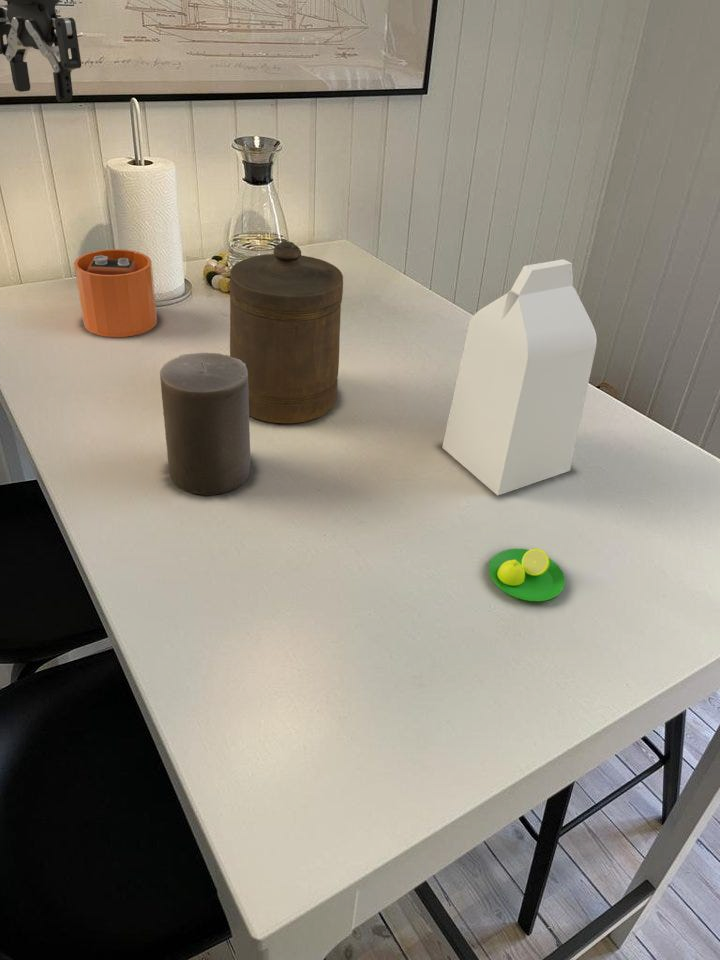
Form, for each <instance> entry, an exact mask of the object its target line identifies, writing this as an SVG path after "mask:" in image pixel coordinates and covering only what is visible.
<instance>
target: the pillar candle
mask: <svg viewBox="0 0 720 960" xmlns="http://www.w3.org/2000/svg"><path fill="white" fill-rule="evenodd" d="M159 379H160V388H161V389H160V390H161V400H162V401H161V402H162V409H163V413H162V414H163V421H164V422H163V423H164V432H165V443H166V444H165V445H166V454H167V455H166V457H167V465H168V473H169V477H170V479H171V481H172V483H173V484H174V485H175V486H176V487H177V488H178V489H180V490H182V491H185V492H187V493H191V494H196V495H200V496H216V495H220V494H226V493H228V492H231V491H233V490H236V489H237V488H240V487H241V486H242V485H244V484H245V483H246V482H247V481H248V479H249V477H250V475H251V468H252V467H251V443H250V442H251V436H250V416H249V394H248V370H247V368H246V364H245V363H243V362H242V361H241V360H239V359H236V358H233V357H230V355H228V354H222V353H216V352H195V353H183V354H181V355H178V357H175V358H172V359H170V360H169V361H167V362H166V363H164V365H163V366H162V367H161V369H160V370H159Z"/></svg>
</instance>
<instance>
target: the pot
mask: <svg viewBox="0 0 720 960" xmlns="http://www.w3.org/2000/svg"><path fill="white" fill-rule="evenodd" d="M101 255H103V256H106V257H108V259H113V260H118V259H120V258H127V259H128V260H133V261H136V263H137V271H136V272H132V273H127V274H119V275H100V274H94V273H90V272H88V270H87V269H88V267H89V266H90V264H91V262H92V261H93V260H94V257H95V256H101ZM73 267H74V273H75V279H76V285H77V291H78V297H79V304H80V310H81V311H80V312H81V316H82V322H83V326H84V328H85V329H86V330H87V331H88V332H89V333H91V334H94V335H98V336H101V337H106V338H127V337H134V336H139V335H141V334H145V333H146V332H149V331H151V330H153V328H155V326H156V325H157V323H158V313H157V302H156V293H155V283H154V271H153V262H152V260H151V258H150V256H148V255H147V254H144V253H143V252H140V251H136V250H132V249H131V250H130V249H119V248H111V249H100V250H95V251H94V250H93V251H90V252H86V253H84V254H82V255H80V256H79V257H77V258H76V259H75V260H74V262H73Z"/></svg>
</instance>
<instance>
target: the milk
mask: <svg viewBox="0 0 720 960" xmlns="http://www.w3.org/2000/svg"><path fill="white" fill-rule="evenodd" d="M573 285H574V277H573V263H572V262H570V261H569V260H566V259H565V258H563V259H557V260H551V261H544V262H539V263H533V264H527V265H523V267H522V269H521V271H520V273H519V274H518V276H517V277H516V279H515V282H514V284H513V285H512V287H511V289H510V290H509V291H508V292H506V293H505V294H503V295H502V296H500V297H497V299H495V300H493V301H492V302H491V303H489V304H487V305H485V306H483V307H482V308H481V309H479V310H478V311H477V312H475V314H473V316H472V317H471V318H470V321H469V323H468V326H467V327H468V328H467V330H466V331H467V332H466V336H465V341H464V345H463V350H462V355H461V359H460V365H459V368H458V372H457V377H456V383H455V386H454V392H453V395H452V396H453V397H452V401H451V405H450V411H449V413H448V414H449V415H448V419H447V423H446V428H445V433H444V437H443V442H442V447H441V449H443V450H444V451H445V452H447V453H448V454H449V455H450V456H451V457H452V458H453V459H455V460H456V461H457V462H458V463H459V464H460V465H462V466H463V467H464V468H465V469H466V470H467V471H468V472H470V474H471V475H473V476H474V477H475V478H477V480H479V481H480V483H482V484H484V485H485V486H486V487H487V488H488V489H489V490H490V491H491V492H492V493H494V494H495V495H496V496H501V495H504V494H507V493H510V492H512V491H515V490H519V489H521V488H524V487H527V486H530V485H533V484H536V483H539V482H542V481H545V480H547V479H550V478H553V477H556V476H559V475H562V474H564V473H567V472H571V467H572V463H573V458H574V454H575V449H576V444H577V439H578V434H579V430H580V425H581V420H582V415H583V412H584V406H585V401H586V396H587V392H588V387H589V382H590V379H591V374H592V369H593V363H594V359H595V354H596V349H597V342H598V339H597V333H596V330H595V327H594V325H593V323H592V320H591V318H590V316H589V314H588V312H587V309H586V308H585V306H584V304H583V302H582V300H581V298H580V296H579V294H578V292H577V290H576V287H574V286H573Z"/></svg>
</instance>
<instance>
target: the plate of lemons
mask: <svg viewBox="0 0 720 960" xmlns="http://www.w3.org/2000/svg"><path fill="white" fill-rule="evenodd" d="M488 572H489V576H490V578H491V580H492V582H493V583H494V584H495V585H496V587H498V588H499V589H500V590H501V591H502V592H504V593H506V594H507V595H510V596H512V597H513V598H516V599H520V600H523V601H529V602H543V601H548V600H551V599H554V598H556V597H558V596H559V595H560V594H561V593H562V592H563V590H564V588H565V583H566V579H565V578H566V577H565V574H564V572H563V570H562V569H561V567H560V566H559V565H558V564H557V563H556V562H555V561H554V560H553V559H551V558H550V557H549V556H548V554H547V553H546V552H545V551H544V550H542V549H540V548H536V547H535V548H531V549H527V548H508V549H505V550H502V551H500V552H498V553H496V554H495V555H494V556H493V557H492V558H491V559H490V562H489V564H488Z"/></svg>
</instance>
